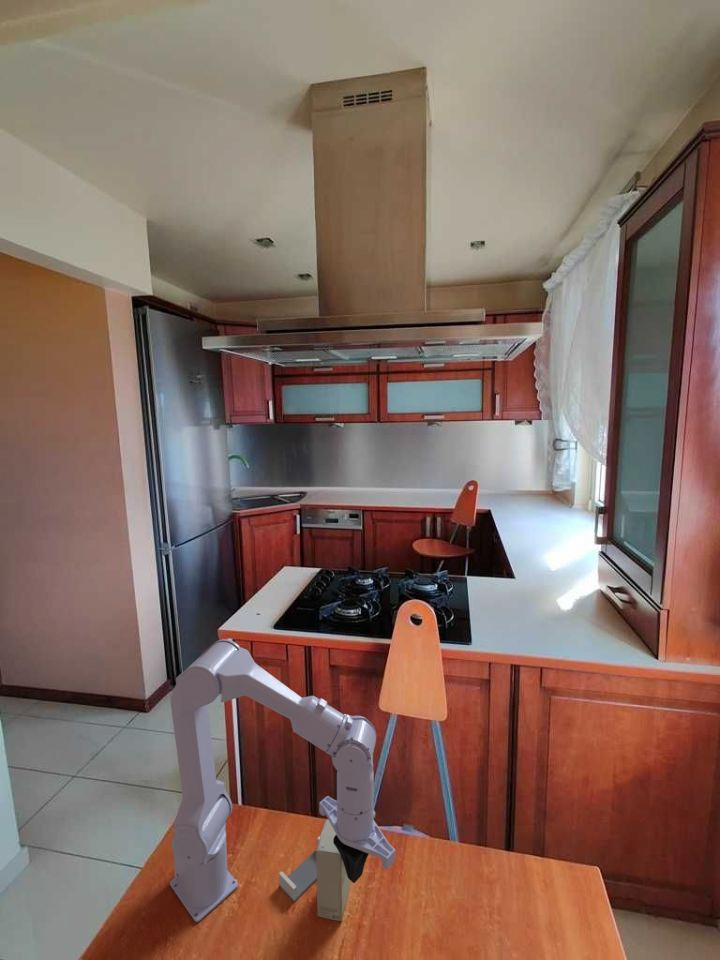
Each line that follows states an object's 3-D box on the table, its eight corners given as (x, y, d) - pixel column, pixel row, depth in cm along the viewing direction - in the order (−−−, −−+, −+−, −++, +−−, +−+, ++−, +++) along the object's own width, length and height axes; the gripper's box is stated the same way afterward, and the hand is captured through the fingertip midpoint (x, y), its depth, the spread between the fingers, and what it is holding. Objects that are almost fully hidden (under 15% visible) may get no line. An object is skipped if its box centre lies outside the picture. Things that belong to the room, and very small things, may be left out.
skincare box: (342, 923, 73) (341, 856, 71) (316, 917, 74) (315, 851, 72) (350, 884, 79) (350, 822, 78) (326, 879, 80) (325, 817, 78)
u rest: (279, 886, 79) (278, 873, 78) (319, 848, 86) (319, 836, 86) (294, 902, 76) (293, 889, 76) (334, 861, 83) (334, 849, 83)
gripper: (408, 809, 69) (406, 888, 70) (340, 761, 78) (340, 831, 80) (378, 841, 63) (377, 925, 65) (309, 786, 73) (310, 860, 75)
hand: (355, 876), depth 72 cm, fingers closed
